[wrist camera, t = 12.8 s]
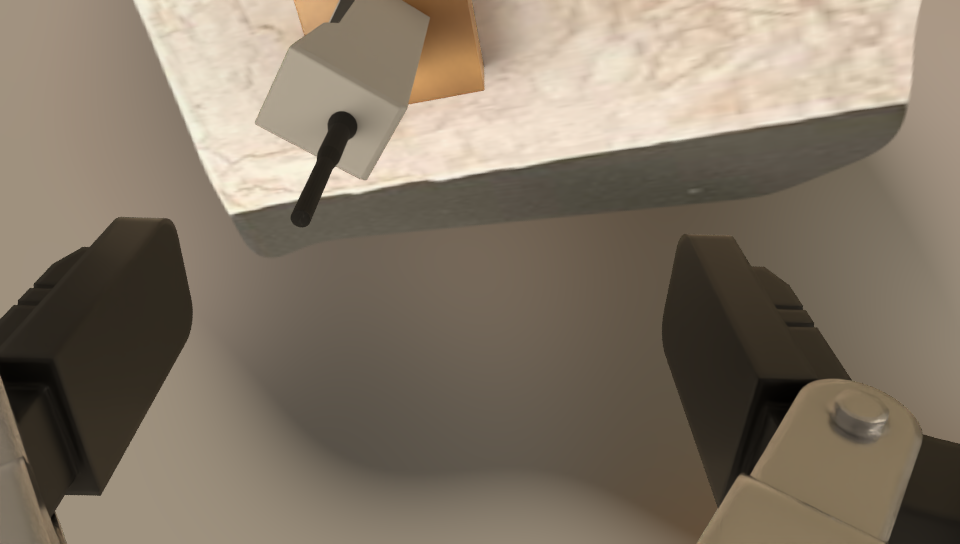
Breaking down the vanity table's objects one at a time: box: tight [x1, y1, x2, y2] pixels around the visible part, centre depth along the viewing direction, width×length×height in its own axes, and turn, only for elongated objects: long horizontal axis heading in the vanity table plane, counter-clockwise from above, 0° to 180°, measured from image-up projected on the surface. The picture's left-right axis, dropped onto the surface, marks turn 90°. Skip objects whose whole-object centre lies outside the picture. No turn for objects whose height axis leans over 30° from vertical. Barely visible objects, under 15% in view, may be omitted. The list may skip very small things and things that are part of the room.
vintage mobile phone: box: [255, 0, 430, 227], centre depth 33 cm, size 4×5×25 cm
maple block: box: [294, 0, 484, 104], centre depth 46 cm, size 10×10×5 cm
